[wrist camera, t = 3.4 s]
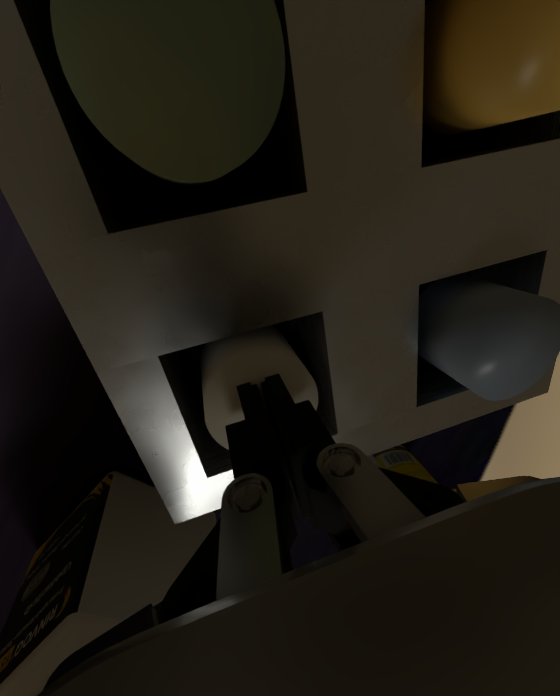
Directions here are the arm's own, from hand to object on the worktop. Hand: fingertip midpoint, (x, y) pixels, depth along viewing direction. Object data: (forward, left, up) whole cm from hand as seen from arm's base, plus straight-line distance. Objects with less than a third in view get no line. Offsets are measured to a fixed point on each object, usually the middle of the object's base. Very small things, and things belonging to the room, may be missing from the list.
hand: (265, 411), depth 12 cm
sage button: (-10, 0, -3) cm, 10 cm away
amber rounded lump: (-10, +10, -3) cm, 14 cm away
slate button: (0, +10, -3) cm, 10 cm away
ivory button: (0, 0, -4) cm, 4 cm away
